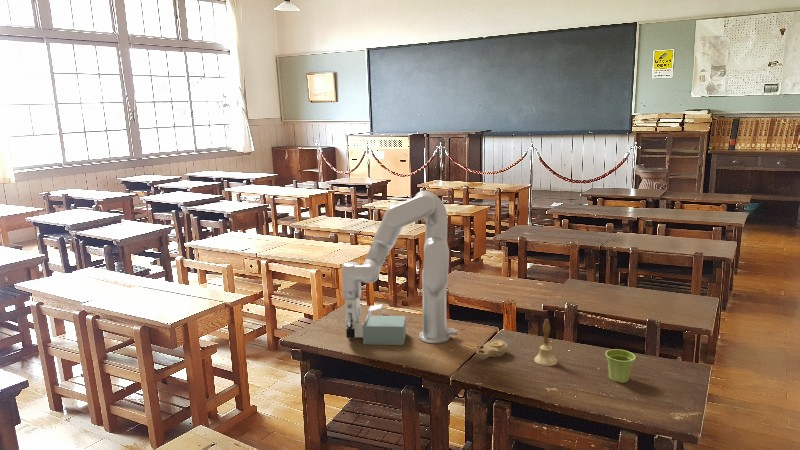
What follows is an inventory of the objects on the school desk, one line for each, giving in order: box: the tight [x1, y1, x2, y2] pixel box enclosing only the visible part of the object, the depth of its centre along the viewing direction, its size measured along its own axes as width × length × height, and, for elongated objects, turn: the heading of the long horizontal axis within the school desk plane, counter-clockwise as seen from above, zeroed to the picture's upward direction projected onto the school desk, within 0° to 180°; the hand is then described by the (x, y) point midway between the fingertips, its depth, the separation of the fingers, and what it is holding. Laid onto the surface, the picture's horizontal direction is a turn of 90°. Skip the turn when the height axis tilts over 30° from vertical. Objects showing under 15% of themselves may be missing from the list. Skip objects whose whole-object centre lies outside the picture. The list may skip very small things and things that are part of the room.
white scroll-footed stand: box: [365, 303, 387, 318], centre depth 248 cm, size 12×8×5 cm
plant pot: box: [604, 348, 636, 384], centre depth 186 cm, size 9×9×9 cm
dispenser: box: [362, 313, 407, 346], centre depth 224 cm, size 16×12×8 cm
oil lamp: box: [475, 339, 509, 359], centre depth 206 cm, size 11×14×5 cm
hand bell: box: [533, 318, 558, 367], centre depth 200 cm, size 8×8×16 cm
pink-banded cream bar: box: [351, 322, 364, 338], centre depth 225 cm, size 13×3×5 cm, turn 85°
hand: (352, 333), depth 225 cm, fingers open, 9 cm apart
